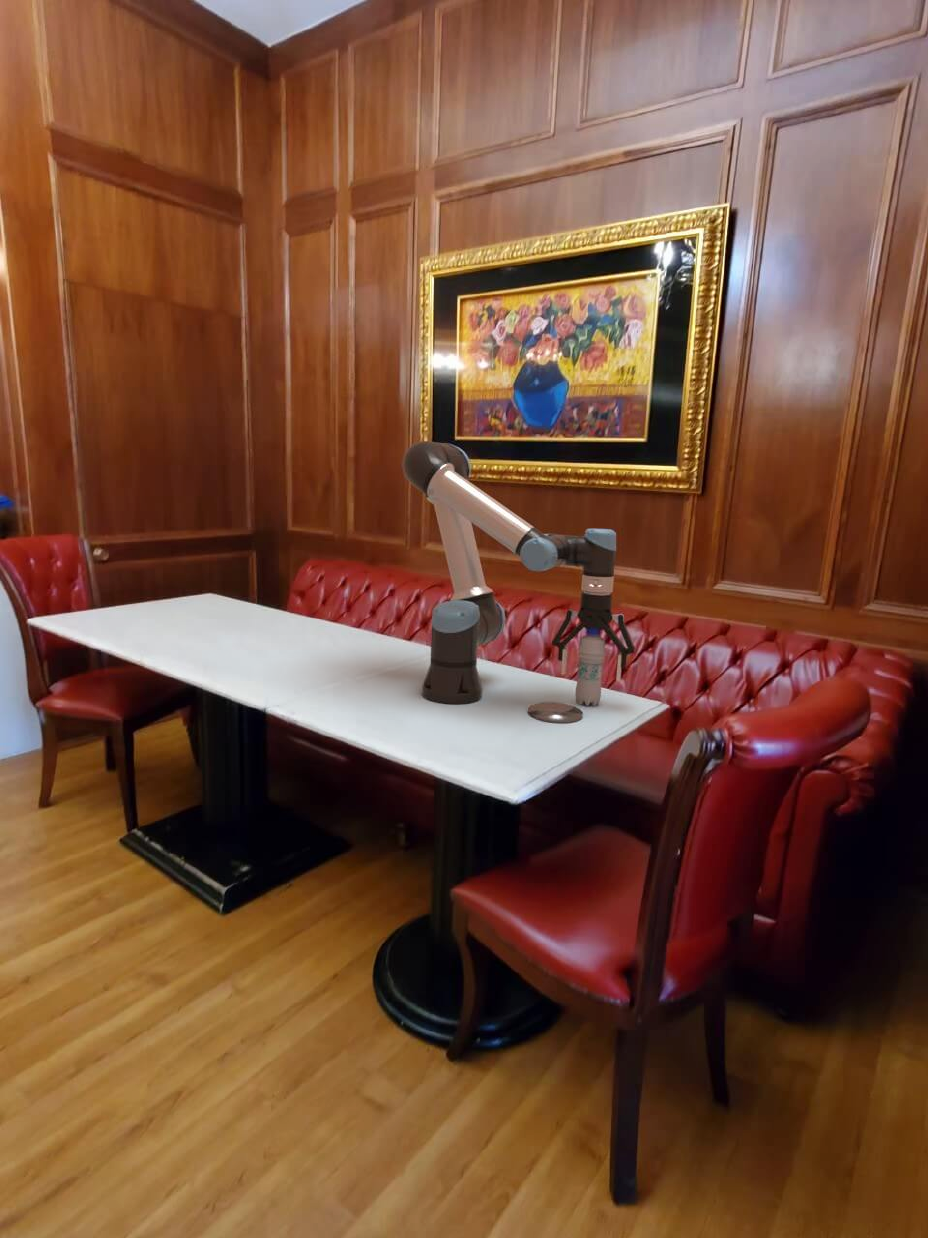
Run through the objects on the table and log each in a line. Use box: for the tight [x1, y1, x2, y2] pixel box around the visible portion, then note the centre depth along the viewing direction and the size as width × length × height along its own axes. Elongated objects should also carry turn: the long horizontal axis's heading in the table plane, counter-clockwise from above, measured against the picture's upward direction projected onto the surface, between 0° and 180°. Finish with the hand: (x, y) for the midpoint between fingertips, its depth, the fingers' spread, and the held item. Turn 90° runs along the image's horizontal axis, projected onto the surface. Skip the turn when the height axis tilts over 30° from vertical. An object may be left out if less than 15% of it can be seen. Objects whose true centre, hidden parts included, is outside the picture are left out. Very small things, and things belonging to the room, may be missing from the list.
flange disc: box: [527, 701, 584, 724], centre depth 167 cm, size 13×13×1 cm
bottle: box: [574, 627, 607, 707], centre depth 174 cm, size 7×7×20 cm
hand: (590, 676), depth 175 cm, fingers open, 13 cm apart
